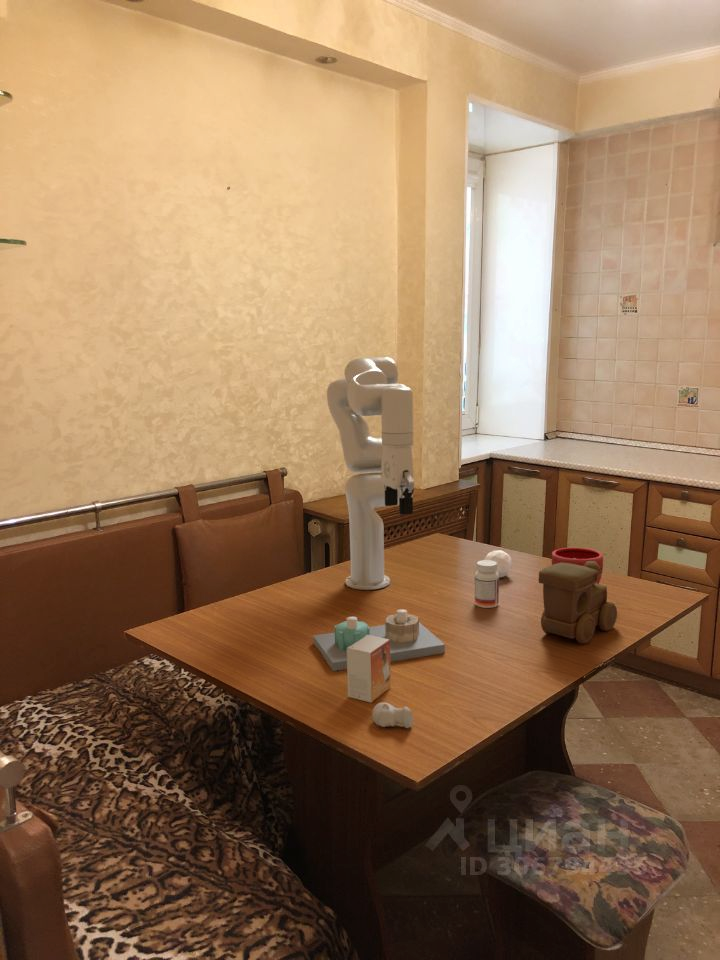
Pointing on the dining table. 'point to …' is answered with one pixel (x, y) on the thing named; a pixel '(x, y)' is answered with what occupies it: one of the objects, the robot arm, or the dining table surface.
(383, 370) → the robot arm
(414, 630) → the wooden gear
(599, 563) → the plant pot
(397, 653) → the gear board
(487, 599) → the pill bottle
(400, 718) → the pale two-lobed sculpture
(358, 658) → the small box
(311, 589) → the dining table surface
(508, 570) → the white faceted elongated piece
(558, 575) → the wooden toy train
